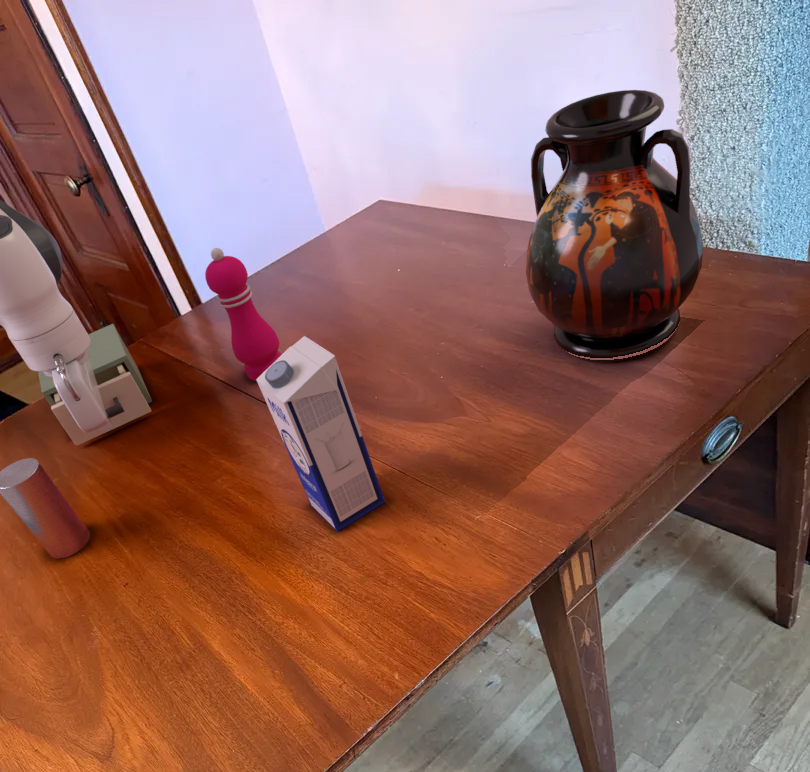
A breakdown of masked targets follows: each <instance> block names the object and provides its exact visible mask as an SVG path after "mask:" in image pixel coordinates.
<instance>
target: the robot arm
mask: <svg viewBox="0 0 810 772" xmlns="http://www.w3.org/2000/svg"><path fill="white" fill-rule="evenodd" d="M61 251H62V250H61V248H60V246H59V244H58V242H57V240H56V238H54V236H53V235H52V234H51V233H50V231H49V230H48V229H46V228H45V227H44V226H43V225H41V224H40V223H38V222H37V221H35V220H34V219H33V218H30V217H29V216H27V215H26V214H23V212H20V211H19V210H16V209H15V208H14V207H12V206H10V205H9V204H7V203H6V202H4V201H3V200H2V199H0V326H1V327H3V329H4V331H5V332H6V334H7V338H8V339H9V341H10V342H11V344H12V345H13V346H14V348H15V349H16V351H17V352H18V354H19V355H20V357H21V359H22V360H23V361H24V363H25V364H26V366H27V367H28V369H29V370H31V371H32V372H33V371H34V372H38V371H43V372H44V374H45V375H46V376H49V377H53V381H54V385H55V387H56V389H57V391H58V393H59V395H60V397H61V399H62V400H63V402H64V404H65V405H66V407H67V409H68V410H69V412H70V413H71V415H72V417H73V418H74V420H75V422H76V423H77V425H78V426H79V428H80V429H81V430H82V431H83V432H85V433H88V432H91V431H93V430H95V429H99V430H100V431H101V432H105V431H108V430H110V429H111V428H112V425H111V422H110V419H109V416H108V415H107V413H106V411H105V408H104V405H103V402H102V398H101V395H100V392H99V388H98V385H97V382H96V378H95V375H94V372H93V368H92V365H91V362H90V360H89V358H88V357H89V354H88V352H87V349H88V347H89V346H90V343H91V339H90V337H89V335H88V334H89V333H88V332H87V330H86V329H85V326H84V325H83V323H82V322H81V320H80V318H79V317H78V315H77V313H76V311H75V309H74V308H73V306H72V305H71V304H70V302H69V301H68V300H67V299H66V298H65V297H64V296H63V295H62V294H61V292H60V290H59V288H58V285H59V284H60V282H61V278H62V273H63V255H62V252H61ZM110 431H111V430H110ZM108 432H109V431H108Z"/></svg>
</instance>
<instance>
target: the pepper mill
mask: <svg viewBox="0 0 810 772" xmlns="http://www.w3.org/2000/svg"><path fill="white" fill-rule="evenodd" d="M210 257H211V258H212V261H210V262H209V264H208V265H207V267H206V269H205V272H204V275H205V276H204V277H205V281H206V285H207V286H208V288H209V290H210V291H212V292H213V293H215V294H216V295H217V296H216V298H217V301H219V306H221V308H224V310H225V311H226V313H227V316H228V319H229V323H230V331H231V336H230V337H231V349H232V352H233V354H234V357H235V358H236V360H237V361H238V362H240V363H242V364H244V365H243V369H244V371H245V374H246V376H247V378H248V379H249V380H251V381H253V382H257V380H256V379H257V378H258V377H259V376H260V375H261V374H262V373H263V372H264V371H265V370H267V369H268V368H269V367H270V366H271V365H272V364H273V363H274V362H275V361H276V360H277V359H278V358H279V357H280V356H281V355H282V353H281V352H280V351H279V348H280V339H279V336H278V335H277V333H276V331H275V330H274V329H273V327H272V325H270V324H269V323H268V322H267V321H266V320H265V319H264V317H262V315H260V313H259V312H258V310H257V309H256V307H255V305H254V302H253V299H252V297H253V292H252V290H251V286H250V284H248V283H247V282H248V279H249V278H248V277H249V275H248V270H247V268H246V266H245V264H244V263H243V262H242V260H240V259H239V258H237V257H235V256H232V255H225V254H224V251H223V249H221V248H219V247H214V248H213V249H212V250H211V252H210Z"/></svg>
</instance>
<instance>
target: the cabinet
mask: <svg viewBox="0 0 810 772" xmlns="http://www.w3.org/2000/svg"><path fill="white" fill-rule="evenodd" d="M88 335H89V337H90V339H91V343H90V346H89V347H88V349H87V352H88V354H89V357H88V358H89V360H90V362H91V365H92V368H93V372H94V375H95V374H97V373H100V372H102V371H104V370H106V369H109V368H111V367H113V366H115V365H118V364H120V363H122V362H124V364H125V365H126V367H127V369H128V371H129V372H130V373H131V375H132V377H133V379H134V381H135V382H136V384H137V386H138V388H139V389H140V391H141V393H142V395H143V396H144V398H145V400H146V402H147V403H148V404H150V403H152V402H153V400H152V397H151V395H150V393H149V390H148V388H147V386H146V384H145V382H144V379H143V377H142V375H141V371H140V370H139V367H138V366H137V363H136V362H135V360H134V359H133V356H132V354H131V353H130V351H129V349H128V348H127V346H126V344H125V342H124V340H123V339H122V337H121V335H120V333H119V332H118V329H117V328H116V326H115V324H114V323H111V324H109V325H107V326H104V327H102V328H100V329H98V330H95V331H92V332H91V333H88ZM37 375H38V379H39V385H40V391H41V394H42V395H43V398H45V400H46V402H47V403H48V405H49V406H50V407H51V406H53V405H55V404H56V402H55V397H54V392H57V389H56V387H55V385H54V381H53V377H49V376H46V375H45V374H44V372H43V371H37Z"/></svg>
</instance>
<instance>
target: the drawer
mask: <svg viewBox="0 0 810 772" xmlns="http://www.w3.org/2000/svg"><path fill="white" fill-rule="evenodd" d="M95 378H96V382H97V385H98V388H99V392H100V395H101V398H102V402H103V405H104V408H105V411H106V413H107V415H108V416H109V419H110V422H111V425H112V428H111V429H110V430H108V431H105V432H101V431H100V430H99V429H95V430H93V431H91V432H88V433H85V432H83V431H82V430H81V429H80V428H79V426H78V425H77V423H76V422H75V420H74V418H73V417H72V415H71V413H70V412H69V410H68V409H67V407H66V405H65V404H64V402H63V400H62V399H61V397H60V395H59V393H58V391H57V392H54V397H55V402H56V404H55V405H53V406H50V409H51V412H52V413H53V414H54V416H55V417H56V419H57V421H58V422H59V423H60V425H61V426H62V428H63V429H64V430H65V432H66V434H67V435H68V437H69V438H70V440H71V441H72V443H73V444H74V446H75V447H78V446H79V445H82V444H84V443H86V442H88V441H90V440H92V439H95V438H97V437H99V436H101V435H104V434H106V433H107V432H110V431H112V430H114V429H117V428H118V427H122V426H124V425H126V424H127V423H129V422H132V421H134V420H136V419H138V418H141V417H143V416H144V415H146V414H149V413H152V409H151V407H150V405H149V403H147V402H146V400H145V398H144V396H143V395H142V393H141V391H140V389H139V388H138V386H137V384H136V382H135V381H134V379H133V377H132V375H131V373H130V372H129V371H128V369H127V367H126V365H125V364H124V362H122V363H120V364H118V365H115V366H113V367H111V368H109V369H106V370H104V371H102V372H100V373H97V374H95Z"/></svg>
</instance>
